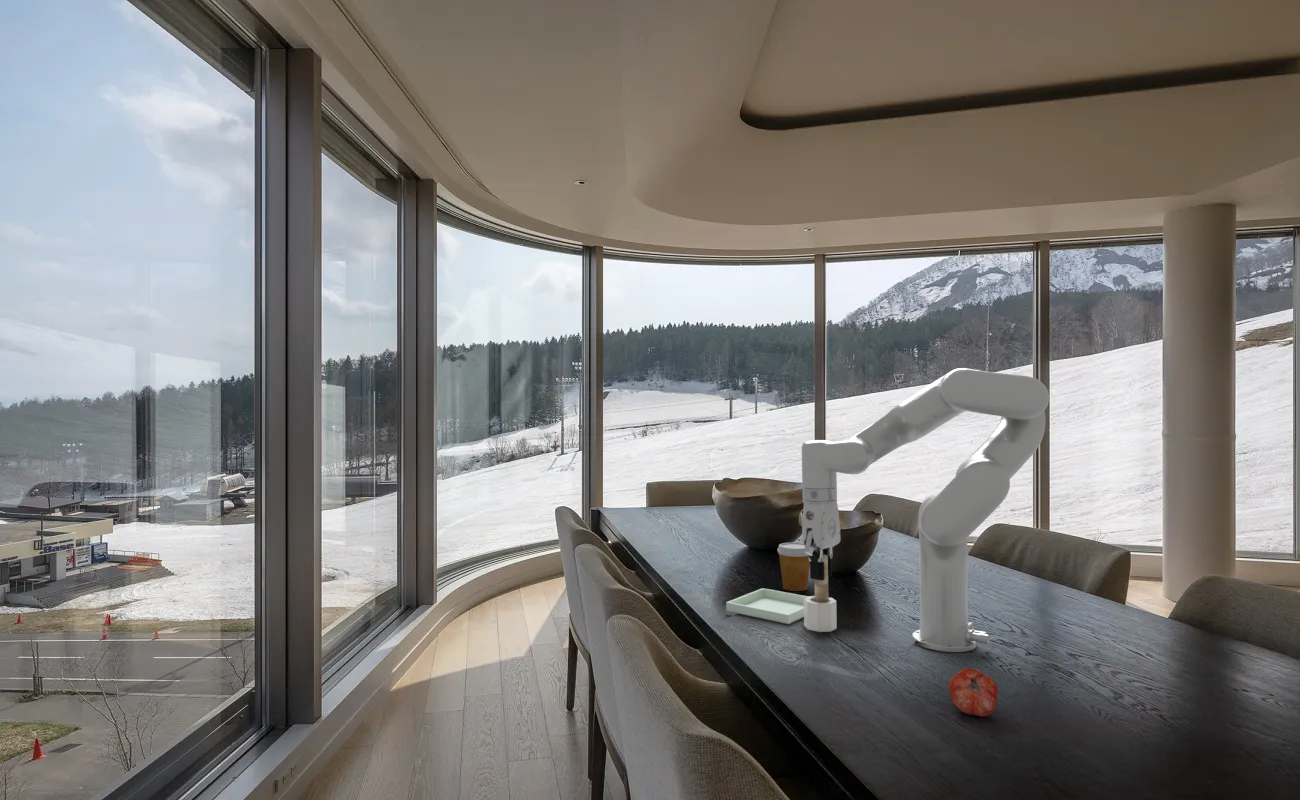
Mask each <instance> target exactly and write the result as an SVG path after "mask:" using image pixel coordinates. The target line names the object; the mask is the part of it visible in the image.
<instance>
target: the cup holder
mask: <svg viewBox="0 0 1300 800" xmlns="http://www.w3.org/2000/svg"><path fill="white" fill-rule="evenodd" d="M828 598H829V602H825V603H818V602H815V595H811V596H810V595H809V596H808V597H807V598H804V617H803V626H804V628H806V630H808V631H814V632H819V633H823V632H827V633H828V632H829V633H830V632H833V631H835V630H837V628H838V627H837V619H838V618H837V600H836V599H834V598H833V597H829V596H828Z"/></svg>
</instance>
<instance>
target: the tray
mask: <svg viewBox="0 0 1300 800" xmlns="http://www.w3.org/2000/svg"><path fill="white" fill-rule="evenodd" d="M807 597H809V596H807V595H801V594H797V593H793V592H787V591H786V592H785V591H780V590H775V589H769V588H763V587H762V588H760V589H756V590H755V591H752V592H749V593H746V594H744V595H741V596H739V597H736V598H734V599H731V600H729V601H726V602H725V604H726V605H725V615H726V616H730V615H731V617H733V616H735V615H739V614H740V615H743V616H749V617H753V618H757V619H763V620H767V621H771V622H772V621H773V622H776V623H781V624H786V625H790V624H792V623H794V622H796V621H798V620H800V619H804V598H807Z"/></svg>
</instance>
